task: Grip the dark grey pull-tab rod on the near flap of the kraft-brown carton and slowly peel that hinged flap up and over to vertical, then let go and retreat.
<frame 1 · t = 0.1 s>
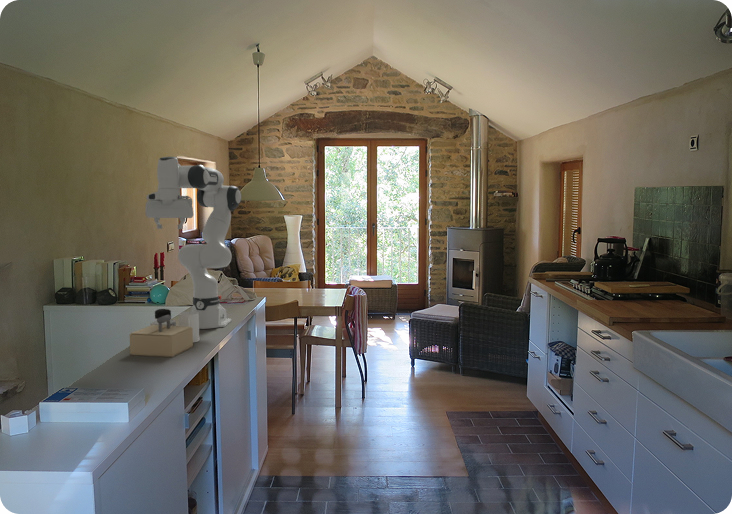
hand: (169, 228, 242), 48 cm above the table, fingers open, 8 cm apart
mug: (189, 342, 246), on the table
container: (163, 339, 250), on the table
carton: (162, 350, 231), on the table
near flap: (171, 323, 229), point 11 cm above the table, hinge at 0.0°
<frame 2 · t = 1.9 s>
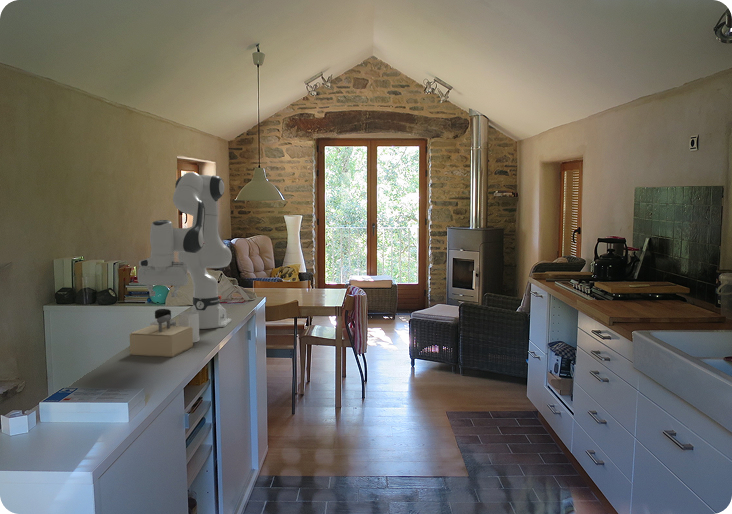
hand: (163, 296, 228), 22 cm above the table, fingers open, 8 cm apart
nothing on the table moved.
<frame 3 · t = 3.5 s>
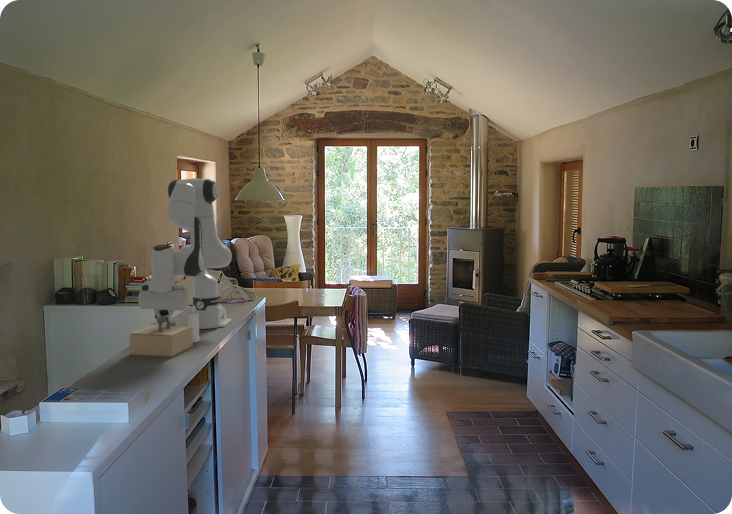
hand: (164, 320, 230), 12 cm above the table, fingers closed on near flap, 2 cm apart
near flap: (171, 323, 229), point 11 cm above the table, hinge at -0.1°, touching gripper
everything else where it was.
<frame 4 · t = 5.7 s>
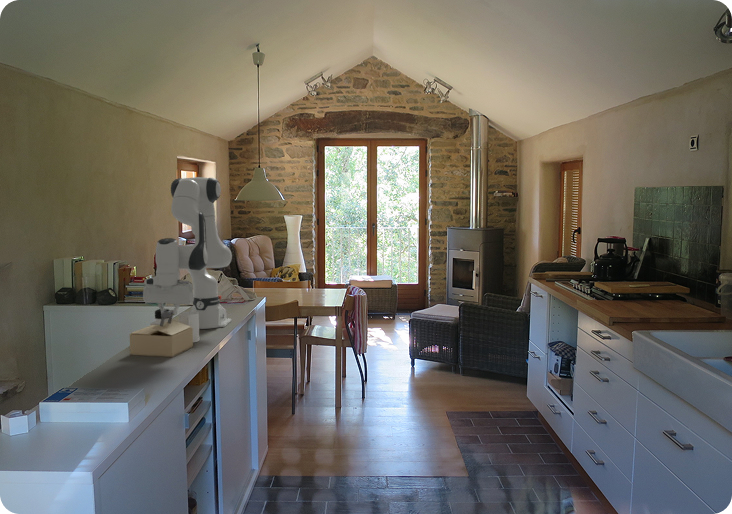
hand: (169, 314, 229), 15 cm above the table, fingers open, 3 cm apart
near flap: (173, 320, 229), point 12 cm above the table, hinge at 17.5°, touching gripper
everything else where it was.
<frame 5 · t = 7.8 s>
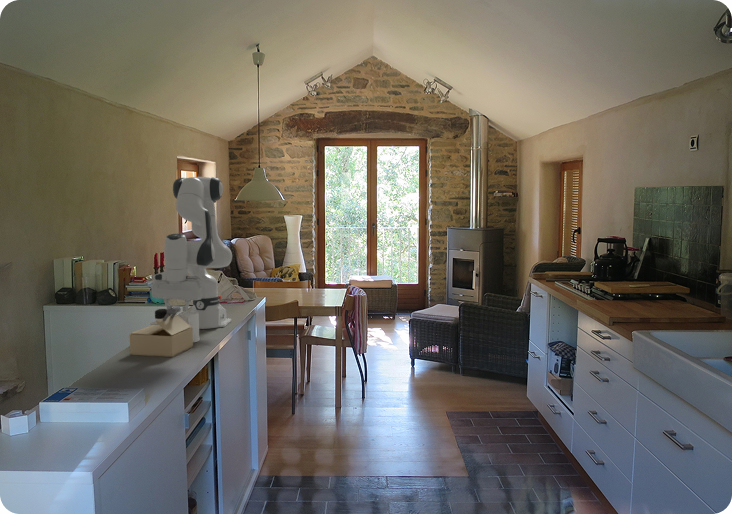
hand: (177, 310, 228), 17 cm above the table, fingers open, 5 cm apart
near flap: (177, 318, 228), point 13 cm above the table, hinge at 36.6°, touching gripper
everything else where it was.
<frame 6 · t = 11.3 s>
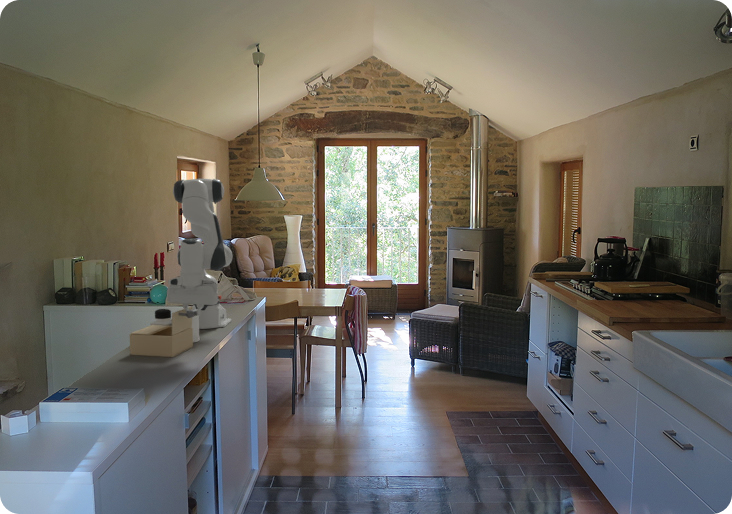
hand: (192, 315, 227), 15 cm above the table, fingers closed on near flap, 2 cm apart
near flap: (188, 320, 227), point 13 cm above the table, hinge at 93.0°, touching gripper
everything else where it was.
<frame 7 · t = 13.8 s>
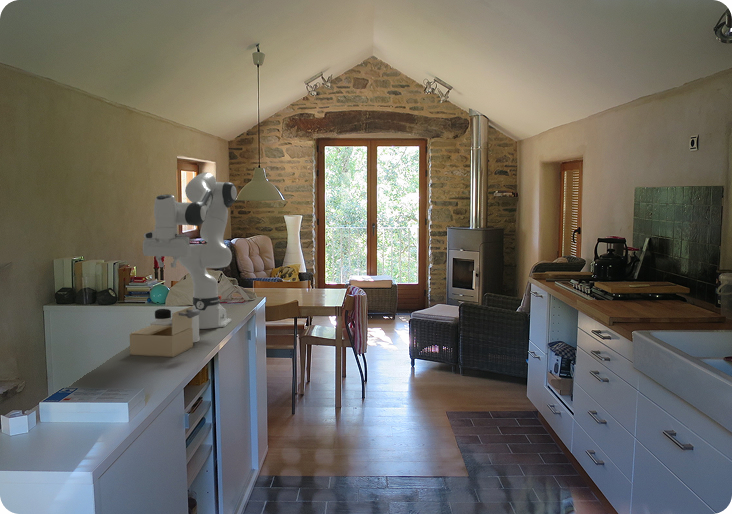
hand: (167, 267, 241), 32 cm above the table, fingers open, 4 cm apart
near flap: (189, 320, 227), point 13 cm above the table, hinge at 93.6°
everything else where it was.
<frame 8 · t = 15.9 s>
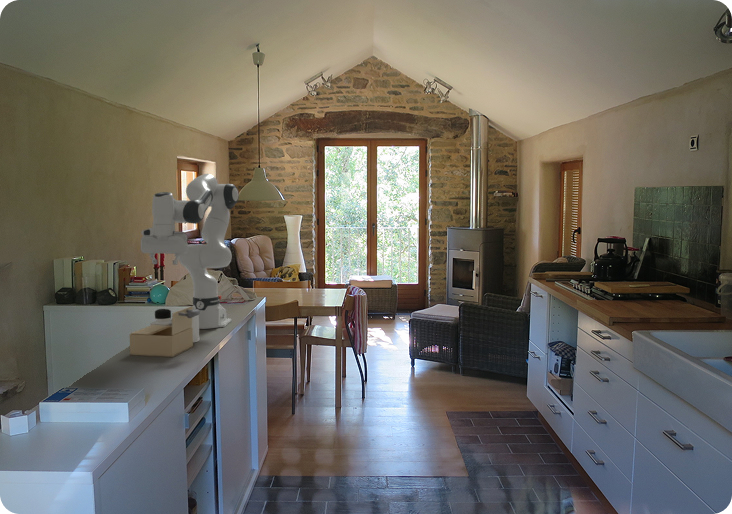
hand: (165, 264, 243), 33 cm above the table, fingers open, 8 cm apart
nothing on the table moved.
at the end: near flap at +94° (first picture: +0°); the gripper is holding nothing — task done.
